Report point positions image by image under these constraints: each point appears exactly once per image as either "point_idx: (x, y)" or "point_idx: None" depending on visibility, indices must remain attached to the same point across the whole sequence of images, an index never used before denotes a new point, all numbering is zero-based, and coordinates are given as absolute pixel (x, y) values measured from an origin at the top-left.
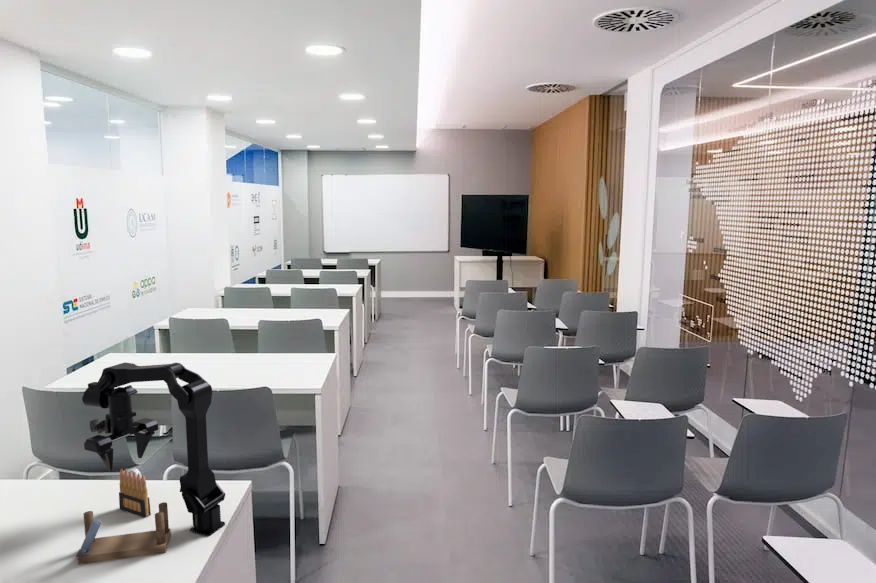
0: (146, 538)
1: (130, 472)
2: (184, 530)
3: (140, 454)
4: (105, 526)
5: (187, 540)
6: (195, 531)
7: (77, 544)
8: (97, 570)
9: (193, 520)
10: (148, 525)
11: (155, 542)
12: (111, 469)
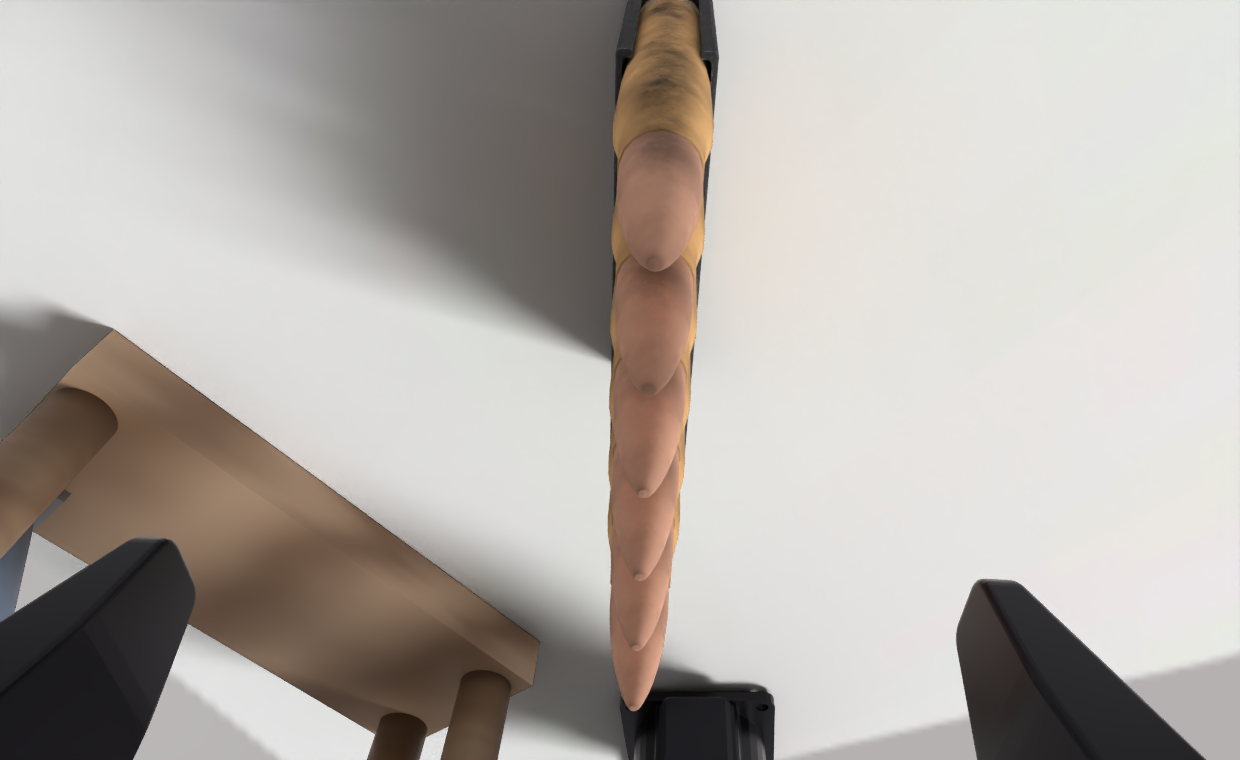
0: (376, 653)
1: (637, 489)
2: None
3: (982, 739)
4: (341, 182)
5: (554, 719)
6: (624, 728)
7: (54, 228)
8: None
9: (662, 737)
10: (554, 465)
11: (384, 707)
12: (165, 638)
